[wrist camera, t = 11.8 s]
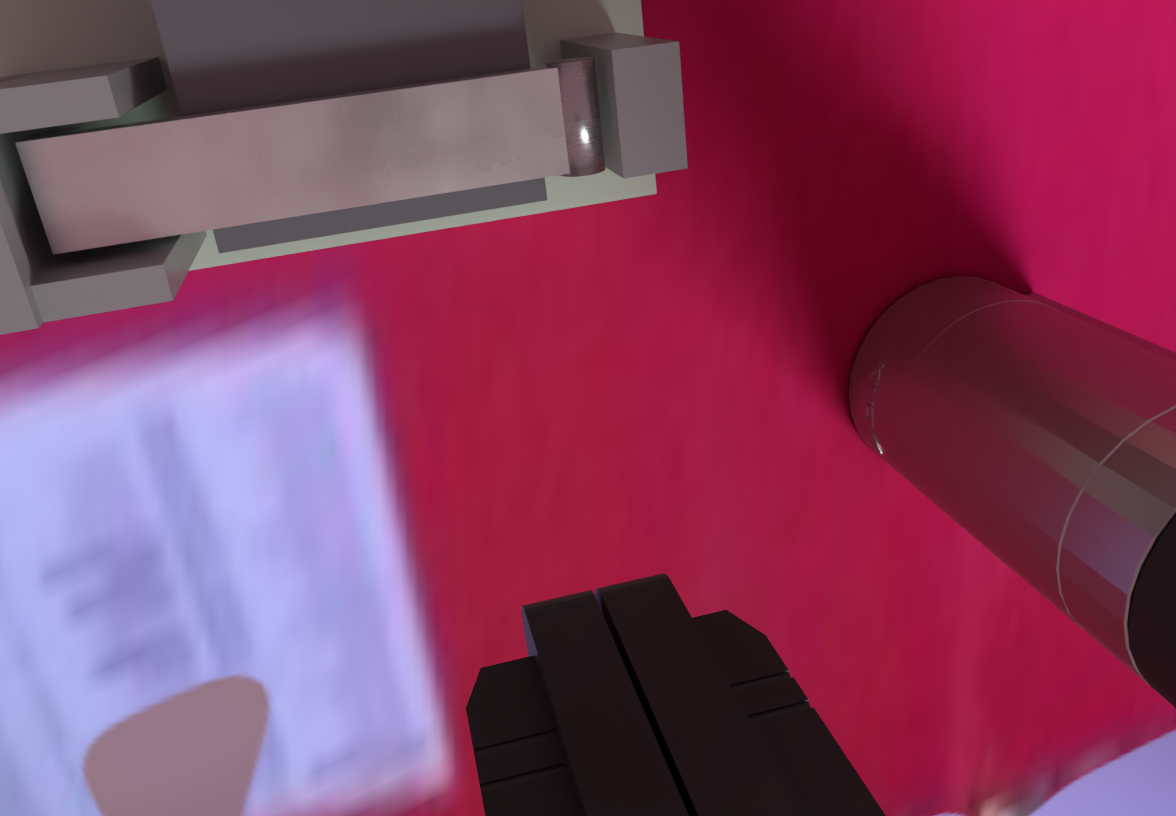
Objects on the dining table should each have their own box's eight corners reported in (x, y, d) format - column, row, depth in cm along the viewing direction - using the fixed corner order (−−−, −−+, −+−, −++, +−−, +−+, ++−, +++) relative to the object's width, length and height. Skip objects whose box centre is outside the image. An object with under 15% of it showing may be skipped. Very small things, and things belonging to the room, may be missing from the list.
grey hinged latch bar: (582, 54, 30) (598, 58, 28) (593, 160, 31) (610, 171, 29) (34, 129, 28) (11, 139, 26) (71, 241, 29) (52, 259, 27)
